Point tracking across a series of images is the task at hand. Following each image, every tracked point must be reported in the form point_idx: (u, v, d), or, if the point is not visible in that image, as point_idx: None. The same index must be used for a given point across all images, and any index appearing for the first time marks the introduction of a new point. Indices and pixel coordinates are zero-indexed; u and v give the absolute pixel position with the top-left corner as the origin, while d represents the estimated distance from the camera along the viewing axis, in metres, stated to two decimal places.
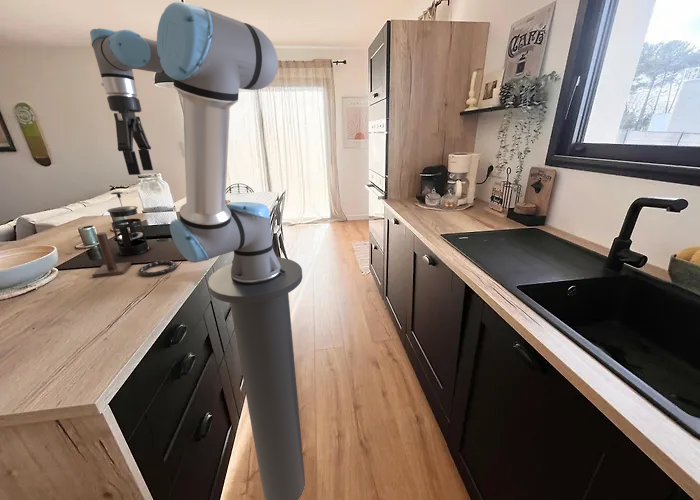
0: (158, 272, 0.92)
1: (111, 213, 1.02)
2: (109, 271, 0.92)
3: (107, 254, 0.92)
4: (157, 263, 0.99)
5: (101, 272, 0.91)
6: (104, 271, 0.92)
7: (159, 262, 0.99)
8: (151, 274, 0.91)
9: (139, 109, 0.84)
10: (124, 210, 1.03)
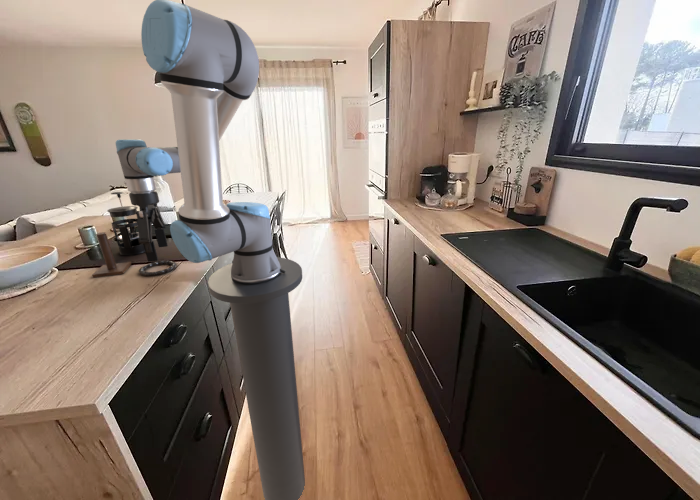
0: (158, 272, 0.92)
1: (111, 213, 1.02)
2: (109, 271, 0.92)
3: (107, 254, 0.92)
4: (157, 263, 0.99)
5: (101, 272, 0.91)
6: (104, 271, 0.92)
7: (159, 262, 0.99)
8: (151, 274, 0.91)
9: (157, 201, 0.92)
10: (124, 210, 1.03)
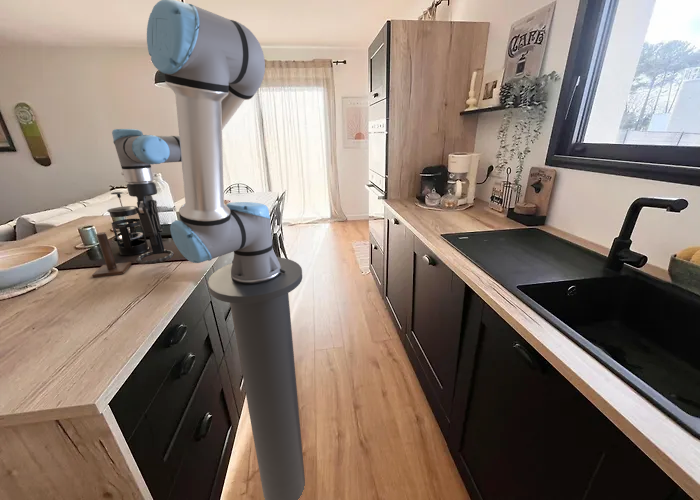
0: (156, 260, 0.90)
1: (111, 213, 1.02)
2: (109, 271, 0.92)
3: (107, 254, 0.92)
4: None
5: (101, 272, 0.91)
6: (104, 271, 0.92)
7: None
8: (149, 262, 0.89)
9: (155, 192, 0.91)
10: (124, 210, 1.03)
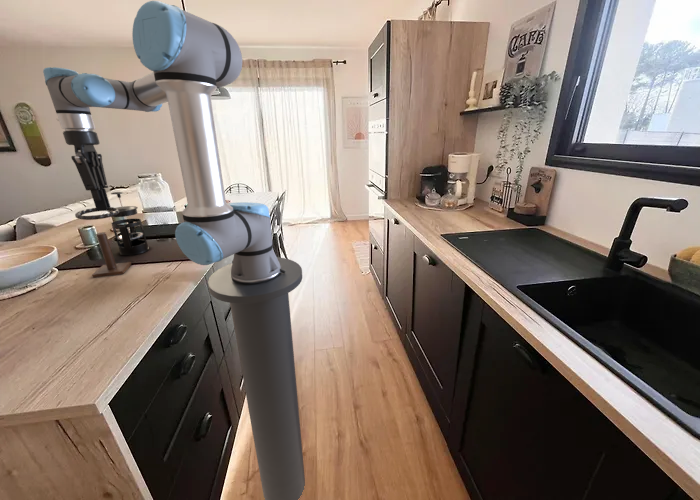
0: (96, 216, 0.84)
1: None
2: (109, 271, 0.92)
3: (107, 254, 0.92)
4: None
5: (101, 272, 0.91)
6: (104, 271, 0.92)
7: None
8: (88, 218, 0.84)
9: (96, 142, 0.85)
10: (124, 210, 1.03)
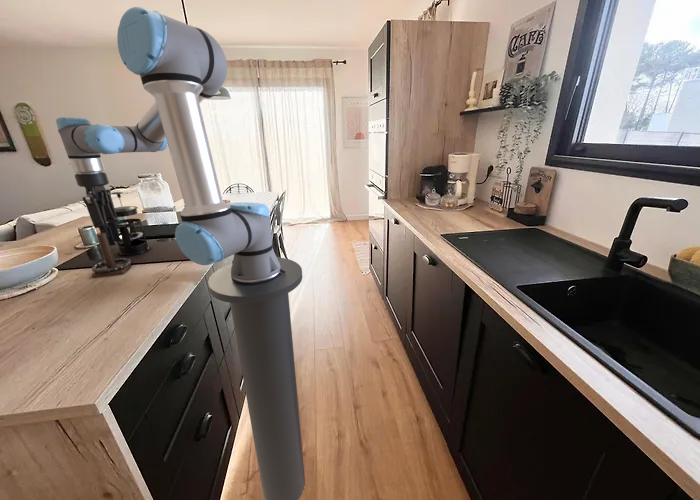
0: (111, 269, 0.91)
1: None
2: None
3: (107, 254, 0.92)
4: None
5: None
6: None
7: (114, 259, 0.99)
8: (103, 271, 0.91)
9: (106, 183, 0.90)
10: (124, 210, 1.03)
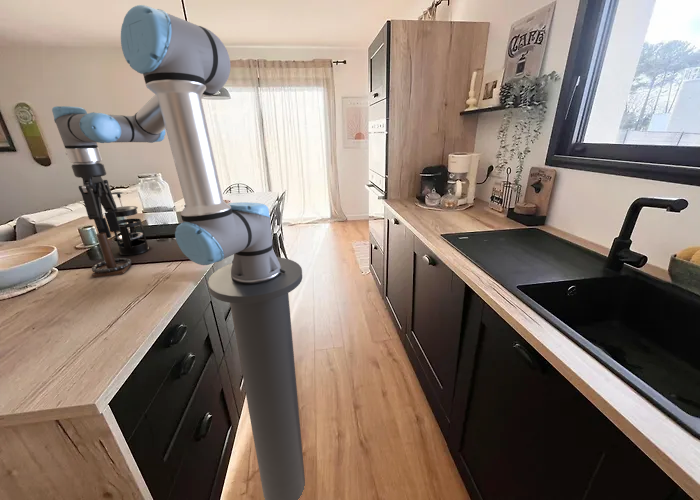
0: (111, 269, 0.91)
1: None
2: None
3: (107, 254, 0.92)
4: None
5: None
6: None
7: (114, 259, 0.99)
8: (103, 271, 0.91)
9: (103, 174, 0.89)
10: (124, 210, 1.03)
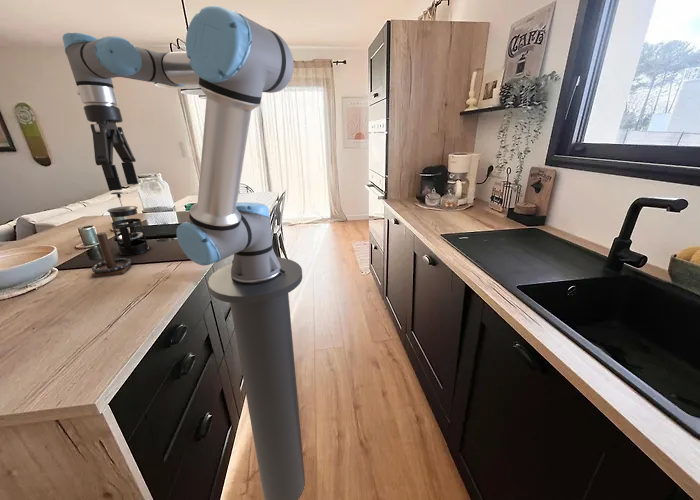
0: (111, 269, 0.91)
1: (111, 213, 1.02)
2: None
3: (107, 254, 0.92)
4: None
5: None
6: None
7: (114, 259, 0.99)
8: (103, 271, 0.91)
9: (119, 119, 0.77)
10: (124, 210, 1.03)
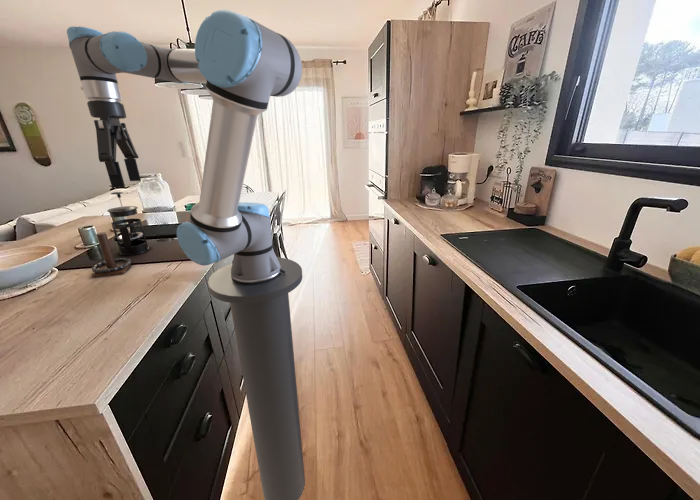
0: (111, 269, 0.91)
1: (111, 213, 1.02)
2: None
3: (107, 254, 0.92)
4: None
5: None
6: None
7: (114, 259, 0.99)
8: (103, 271, 0.91)
9: (123, 115, 0.76)
10: (124, 210, 1.03)
